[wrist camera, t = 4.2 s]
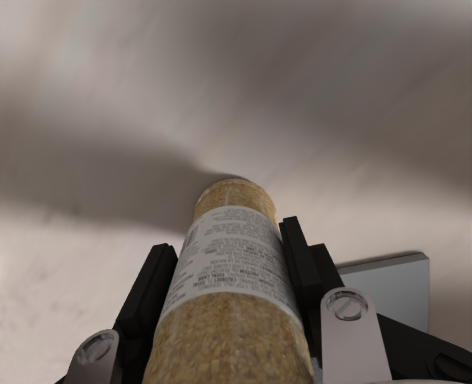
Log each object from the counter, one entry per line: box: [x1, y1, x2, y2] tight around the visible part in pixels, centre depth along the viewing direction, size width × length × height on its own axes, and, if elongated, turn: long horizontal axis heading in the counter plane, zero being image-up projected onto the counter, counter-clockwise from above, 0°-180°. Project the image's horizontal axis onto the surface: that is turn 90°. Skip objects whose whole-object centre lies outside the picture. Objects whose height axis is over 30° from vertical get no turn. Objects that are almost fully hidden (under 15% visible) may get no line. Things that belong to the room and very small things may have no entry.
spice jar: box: [142, 178, 316, 384], centre depth 10 cm, size 5×5×13 cm
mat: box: [337, 253, 429, 334], centre depth 20 cm, size 16×14×1 cm
